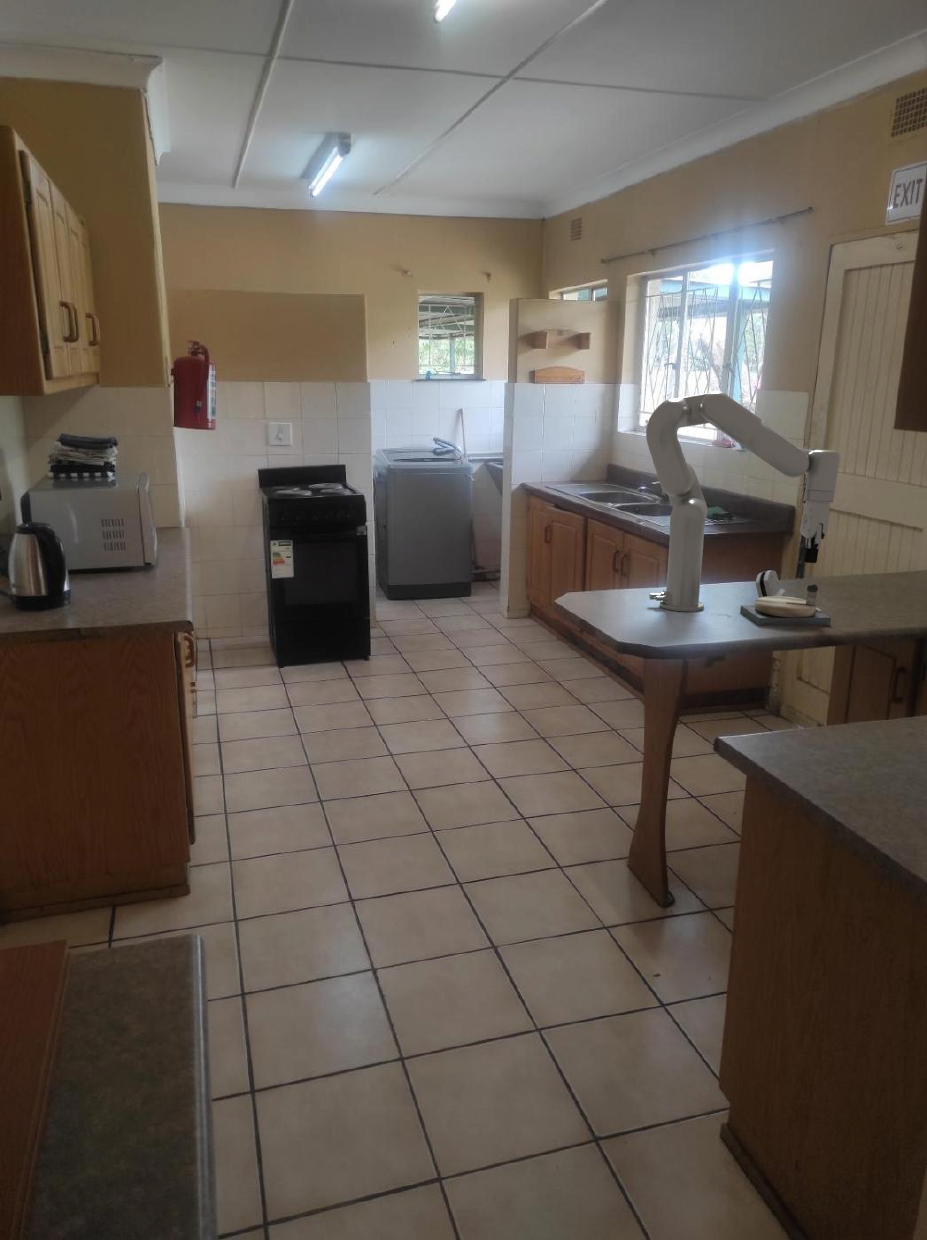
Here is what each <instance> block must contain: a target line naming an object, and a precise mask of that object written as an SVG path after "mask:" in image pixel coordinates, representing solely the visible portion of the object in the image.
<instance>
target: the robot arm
mask: <svg viewBox="0 0 927 1240" xmlns="http://www.w3.org/2000/svg"><path fill="white" fill-rule="evenodd" d="M705 424H710V425H712V426H713V427H715V428H716V429H717V430H719V431H721V432H722V433H724V434H725V435H726V436H728V437H729V438H731V440H733V441H735V442H736V443H737V444H739V445H740V446H741V447H743V448H745V449H746V450H747V451H749V452H751V453H753V454H754V455H755V456H757V457H758V458H760V459H761V460H762V461H763V462H765V463H767V464H768V465H769V466H771V467H772V468H774V470H776V471H778V472H780V473H781V474H782V475H784V476H786V477H788V478H792V479H793V478H795V479H796V478H799V477H802V476H803V475H806V476H807V478H806V484H805V490H804V496H803V501H804V502H805V503H804V507H803V512H802V516H801V522H800V528H799V533H800V534H801V535H802V536H803V537H804V538H805V547H804V553H803V560H802V561H803V562H804V563H806V564H817V562H818V555H819V549H820V545H821V543H822V542H821V541H822V540H825V539H826V538H827V534H828V533H827V532H828V527H829V520H830V512H831V511H830V505H831V504H833V503H834V501H835V494H836V485H837V479H838V474H839V473H838V472H839V467H840V460H841V459H840V458H841V455H840V453H839V452H838V451H837V450H832V449H831V450H830V449H815V450H813V449H809V448H807V449H806V448H803V447H798V446H795V444H792V442H789V441H788V440H787V439H786V438H784V437H782V436H781V435H780V434H778V433H777V432H776V431H774V430H773V428H772V427H770V425H769V424H768V423H767V422H765V421H764V420H763V419H762V418H761V417H759V416H757V415H756V414H755V413H753V412H752V411H750V409H747V408H746V407H744V406H743V405H742V404H740V403H739V402H737V401H736V400H735V399H733V398H731V397H730V396H729V395H728V394H727V393H726V392H723V391H719V390H716V391H712V392H706V393H701V394H696V395H689V396H682V397H676V398H668V399H666V400H664V401H662V402H661V403H660V404H659V405H658V406H657V407H656V408H655V409H654V411H653V412H652V414H651V415H650V417H649V419H648V421H647V426H646V430H645V434H646V435H645V437H646V438H645V439H646V443H647V447H648V451H649V453H650V456H651V459H652V463H653V465H654V469H655V472H656V475H657V477H658V481H659V484H660V488H661V489H662V492H664V493H665V494H666V495H667V496H668V500H669V501H670V504H671V505H670V506H671V507H672V510H671V514H670V518H669V542H668V543H669V546H668V558H667V560H668V561H667V562H668V563H667V574H666V575H667V576H666V587H665V588H666V589H663V590H662V591H661V592H660V593H659V592H658V593H655V592H654V593H653V592H650V593H649V595H648V596H649V600H654V601H657V602H659V607H661V608H663V609H665V610H670V611H673V612H674V611H675V612H686V613H688V612H698V611H702V610H703V609H704V608H705V604H704V602H702V601H700V592H701V591H700V590H701V576H702V566H703V555H704V554H703V553H704V552H703V551H704V540H705V539H704V536H705V527H706V520H707V517H708V506H707V505H708V504H707V502H706V500H705V496H704V494H703V490H702V488H701V485H700V482H699V479H698V476H697V474H696V472H695V470H694V468H693V466H691V464H690V463H688V462H687V461H686V458H685V455H684V453H683V450H682V447H681V446H682V445H681V443H680V442H679V438H678V430H679V429H680V428H685V427H692V426H699V425H705Z"/></svg>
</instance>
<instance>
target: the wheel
mask: <svg viewBox="0 0 927 1240" xmlns="http://www.w3.org/2000/svg"><path fill="white" fill-rule="evenodd" d="M818 587H819V586H818V585H817V584H816V583H810V584H808V585H807V588H806V590H807V592H806V599H804V598H799V597H793V596H786V597H785V596H767V597H760V598H759V597H758V598H756V599H755V604H754V605H755V609H756V610H758V611H760V612H762V613H765V614H769V615H775V616H782V617H808V616H812V615H814V614H815V613H816V608H817V604H816V601H817V595H818V593H817V592H818V590H819V588H818Z"/></svg>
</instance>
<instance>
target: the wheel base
mask: <svg viewBox="0 0 927 1240" xmlns="http://www.w3.org/2000/svg"><path fill="white" fill-rule="evenodd" d="M739 613H740V614H742V616H744V617H745V618H746V619H749V621H750V622H752V623H753V624H756V625H757V626H759V627H763V626H765V627H767V626H768V627H772V626H773V627H776V626H777V627H778V626H780V627H781V626H783V627H784V626H789V627H790V626H795V625H799V626H801V627H802V626H831V622H832V617H831V616H829V615H827V614H826V613H824V612H823V611H822V609H821V608H818V607H816V613H815V614H814V615H812V616H808V617H782V616H775V615H769V614H765V613H762V612H760V611H758V610H756V609H755V604H751V605H750V604H748V605H747V604H741V605H740V609H739Z"/></svg>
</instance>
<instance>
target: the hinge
mask: <svg viewBox="0 0 927 1240" xmlns="http://www.w3.org/2000/svg"><path fill="white" fill-rule="evenodd" d="M755 587H756V591H757V595H758V598H760V597H767V596H785V597H788V596H787V592H786V590H785V589H784V588H782V587H781V584H780V581H779V578H778V574H777V572H776V571H775V570H767V571H766V570H765V571H762V572H760V573H758V574H757V576H756V579H755Z"/></svg>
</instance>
